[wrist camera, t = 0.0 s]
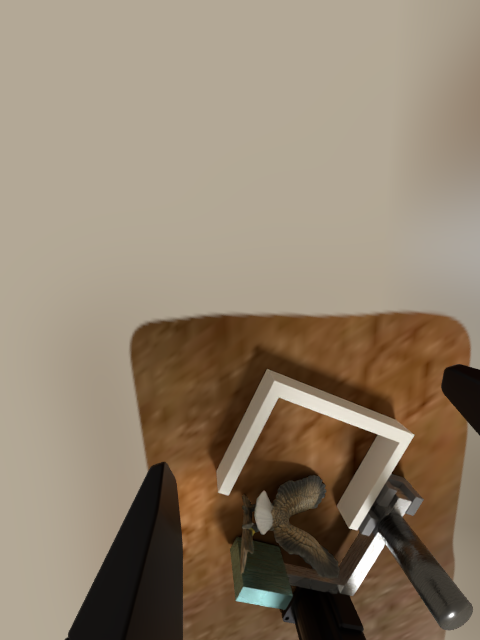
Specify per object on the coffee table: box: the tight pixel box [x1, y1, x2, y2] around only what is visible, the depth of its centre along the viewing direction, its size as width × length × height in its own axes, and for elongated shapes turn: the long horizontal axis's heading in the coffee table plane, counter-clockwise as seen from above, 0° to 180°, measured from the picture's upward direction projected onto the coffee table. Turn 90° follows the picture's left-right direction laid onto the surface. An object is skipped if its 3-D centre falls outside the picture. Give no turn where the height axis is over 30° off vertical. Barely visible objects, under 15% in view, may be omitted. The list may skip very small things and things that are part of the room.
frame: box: [216, 369, 414, 530], centre depth 26 cm, size 11×15×2 cm
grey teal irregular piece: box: [230, 486, 473, 630], centre depth 24 cm, size 13×14×10 cm
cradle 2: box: [375, 474, 424, 516], centre depth 28 cm, size 2×5×3 cm, turn 65°
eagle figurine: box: [240, 475, 340, 579], centre depth 25 cm, size 8×7×9 cm
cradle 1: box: [358, 501, 379, 536], centre depth 29 cm, size 2×5×3 cm, turn 65°
